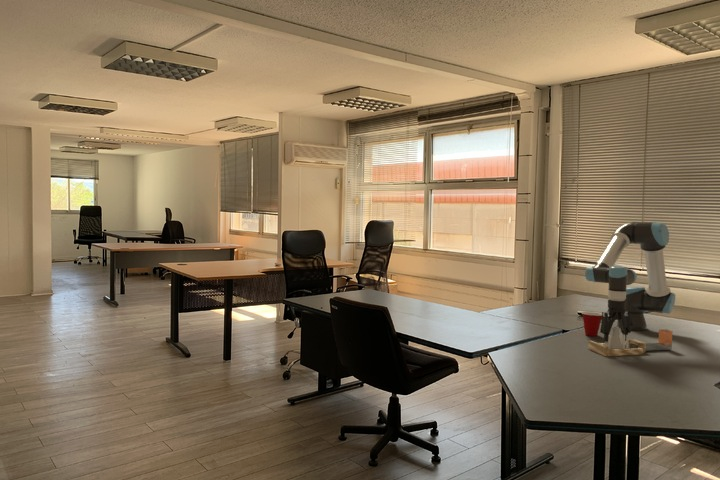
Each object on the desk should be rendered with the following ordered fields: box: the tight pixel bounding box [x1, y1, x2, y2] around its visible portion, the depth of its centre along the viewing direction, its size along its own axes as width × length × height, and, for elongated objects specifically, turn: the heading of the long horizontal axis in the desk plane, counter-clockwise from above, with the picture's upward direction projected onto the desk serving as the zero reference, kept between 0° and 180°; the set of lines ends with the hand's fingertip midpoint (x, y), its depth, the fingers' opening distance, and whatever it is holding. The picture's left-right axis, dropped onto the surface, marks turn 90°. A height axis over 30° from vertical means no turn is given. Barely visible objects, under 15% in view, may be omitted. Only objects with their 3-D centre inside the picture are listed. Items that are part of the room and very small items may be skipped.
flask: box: [609, 326, 623, 350], centre depth 254 cm, size 7×7×10 cm
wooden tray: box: [587, 338, 647, 357], centre depth 255 cm, size 23×12×4 cm, turn 102°
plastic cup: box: [581, 311, 602, 337], centre depth 288 cm, size 11×11×12 cm
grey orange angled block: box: [628, 329, 673, 352], centre depth 258 cm, size 20×4×9 cm, turn 102°
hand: (614, 348), depth 254 cm, fingers closed on flask, 7 cm apart
